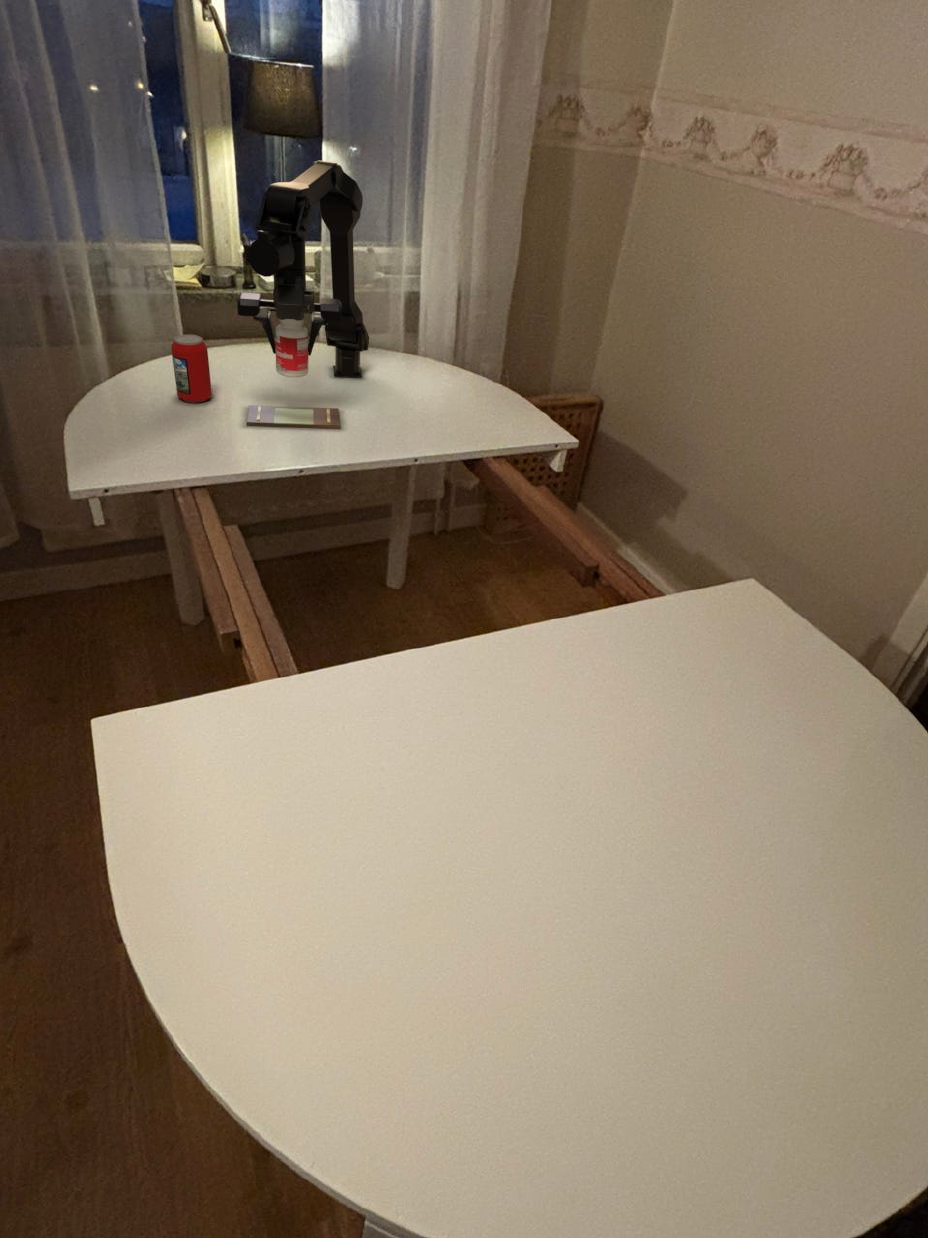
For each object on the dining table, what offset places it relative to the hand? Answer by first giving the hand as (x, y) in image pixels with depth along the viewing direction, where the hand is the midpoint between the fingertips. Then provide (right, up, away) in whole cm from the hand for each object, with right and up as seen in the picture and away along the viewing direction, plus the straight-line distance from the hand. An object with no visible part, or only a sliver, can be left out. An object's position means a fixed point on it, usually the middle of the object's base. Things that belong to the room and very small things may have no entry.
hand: (292, 353), depth 142 cm
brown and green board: (-1, -11, +7) cm, 13 cm away
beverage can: (-22, -6, +10) cm, 25 cm away
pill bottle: (0, -3, +2) cm, 4 cm away
